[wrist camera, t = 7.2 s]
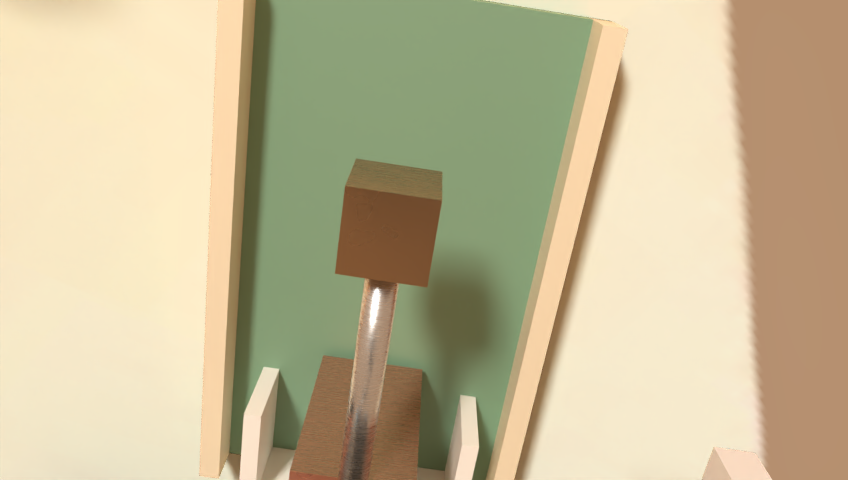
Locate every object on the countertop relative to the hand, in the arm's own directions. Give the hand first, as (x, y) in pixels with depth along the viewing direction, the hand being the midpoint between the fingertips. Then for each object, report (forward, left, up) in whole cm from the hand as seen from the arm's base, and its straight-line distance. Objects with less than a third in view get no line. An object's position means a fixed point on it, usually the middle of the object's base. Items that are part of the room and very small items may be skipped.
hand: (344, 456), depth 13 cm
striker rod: (-6, 0, -20) cm, 21 cm away
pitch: (-6, 0, -22) cm, 23 cm away
